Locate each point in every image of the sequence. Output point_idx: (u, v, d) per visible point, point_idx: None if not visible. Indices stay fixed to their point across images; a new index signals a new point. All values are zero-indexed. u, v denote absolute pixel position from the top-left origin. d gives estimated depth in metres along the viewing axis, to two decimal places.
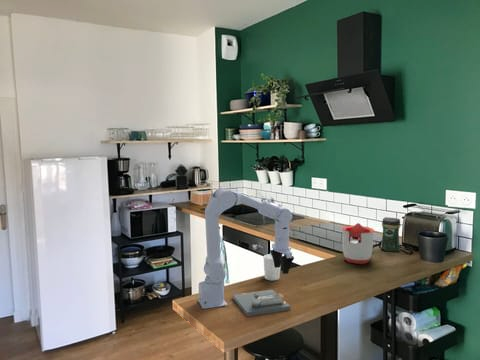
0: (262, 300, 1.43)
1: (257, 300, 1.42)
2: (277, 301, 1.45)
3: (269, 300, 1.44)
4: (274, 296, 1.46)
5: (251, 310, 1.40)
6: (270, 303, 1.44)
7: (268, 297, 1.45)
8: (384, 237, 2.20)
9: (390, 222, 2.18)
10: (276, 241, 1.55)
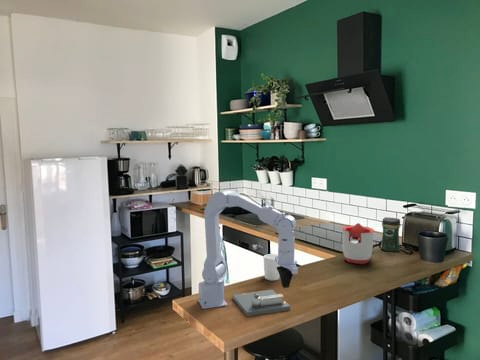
0: (262, 300, 1.43)
1: (257, 300, 1.42)
2: (277, 301, 1.45)
3: (269, 300, 1.44)
4: (274, 296, 1.46)
5: (251, 310, 1.40)
6: (270, 303, 1.44)
7: (268, 297, 1.45)
8: (384, 237, 2.20)
9: (390, 222, 2.18)
10: (280, 254, 1.37)
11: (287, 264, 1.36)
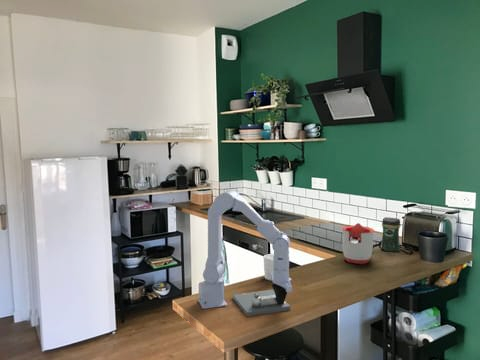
0: (262, 300, 1.43)
1: (257, 300, 1.42)
2: None
3: (269, 300, 1.44)
4: (274, 296, 1.46)
5: (251, 310, 1.40)
6: (270, 303, 1.44)
7: (268, 297, 1.45)
8: (384, 237, 2.20)
9: (390, 222, 2.18)
10: (275, 272, 1.41)
11: (282, 282, 1.40)
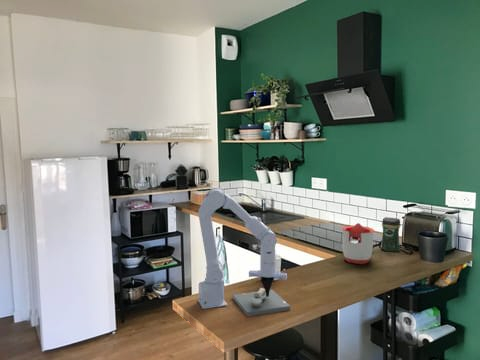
0: None
1: (261, 299, 1.43)
2: (264, 295, 1.51)
3: (262, 296, 1.47)
4: (261, 291, 1.50)
5: (251, 310, 1.40)
6: (263, 299, 1.48)
7: (260, 294, 1.48)
8: (384, 237, 2.20)
9: (390, 222, 2.18)
10: (268, 267, 1.47)
11: (274, 273, 1.49)
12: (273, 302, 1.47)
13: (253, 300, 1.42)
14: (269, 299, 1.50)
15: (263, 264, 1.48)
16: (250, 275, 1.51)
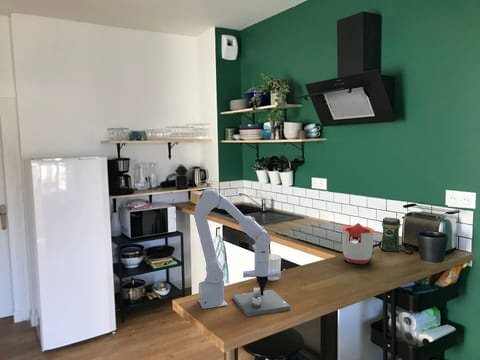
0: None
1: (261, 298, 1.43)
2: None
3: None
4: (257, 291, 1.50)
5: (251, 310, 1.40)
6: None
7: None
8: (384, 237, 2.20)
9: (390, 222, 2.18)
10: (264, 266, 1.48)
11: (269, 272, 1.50)
12: (273, 302, 1.47)
13: (254, 300, 1.42)
14: (269, 299, 1.50)
15: (259, 264, 1.48)
16: (244, 276, 1.50)
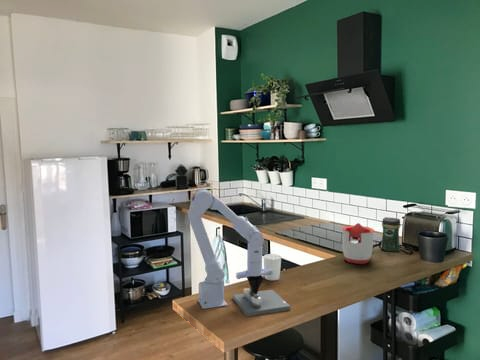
0: None
1: None
2: None
3: None
4: (249, 291, 1.50)
5: (251, 310, 1.40)
6: None
7: (252, 293, 1.48)
8: (384, 237, 2.20)
9: (390, 222, 2.18)
10: (259, 265, 1.49)
11: (262, 271, 1.52)
12: (273, 302, 1.47)
13: (256, 301, 1.42)
14: (269, 299, 1.50)
15: (254, 263, 1.48)
16: (239, 277, 1.49)
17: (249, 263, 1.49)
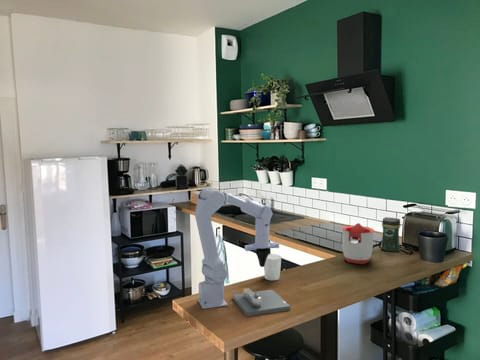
0: None
1: None
2: None
3: None
4: (249, 291, 1.50)
5: (251, 310, 1.40)
6: None
7: (252, 293, 1.48)
8: (384, 237, 2.20)
9: (390, 222, 2.18)
10: (266, 238, 1.58)
11: (269, 244, 1.61)
12: (273, 302, 1.47)
13: (256, 301, 1.42)
14: (269, 299, 1.50)
15: (261, 236, 1.57)
16: (248, 249, 1.58)
17: (257, 236, 1.58)
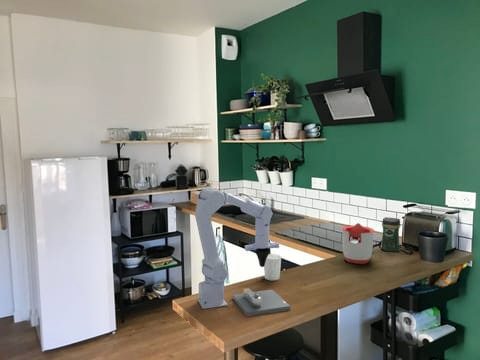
0: None
1: None
2: None
3: None
4: (249, 291, 1.50)
5: (251, 310, 1.40)
6: None
7: (252, 293, 1.48)
8: (384, 237, 2.20)
9: (390, 222, 2.18)
10: (266, 238, 1.58)
11: (269, 244, 1.61)
12: (273, 302, 1.47)
13: (256, 301, 1.42)
14: (269, 299, 1.50)
15: (261, 236, 1.57)
16: (248, 249, 1.58)
17: (257, 236, 1.58)
